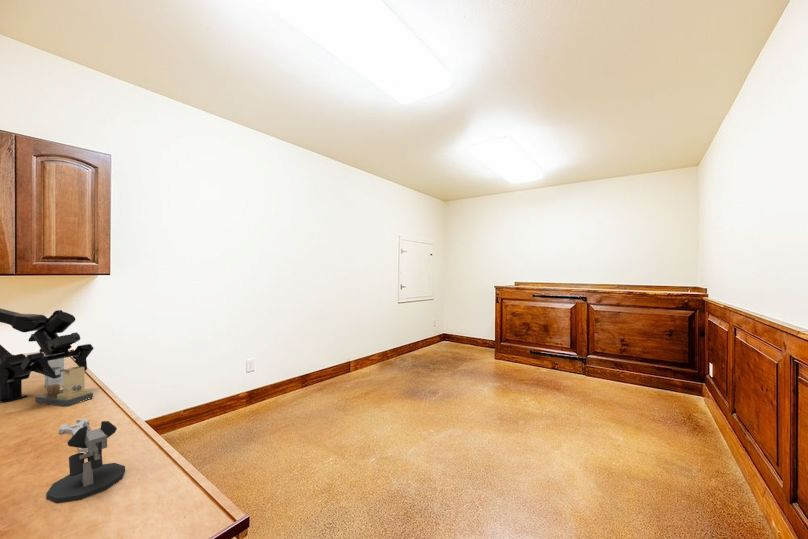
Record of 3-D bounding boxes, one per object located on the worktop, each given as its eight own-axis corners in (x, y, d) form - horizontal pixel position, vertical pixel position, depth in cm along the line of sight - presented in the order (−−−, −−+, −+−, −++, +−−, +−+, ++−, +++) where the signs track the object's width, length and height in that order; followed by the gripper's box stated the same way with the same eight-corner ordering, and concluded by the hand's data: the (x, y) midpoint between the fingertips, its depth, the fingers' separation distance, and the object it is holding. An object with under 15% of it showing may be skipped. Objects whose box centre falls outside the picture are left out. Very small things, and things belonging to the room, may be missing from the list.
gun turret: (112, 451, 87) (112, 401, 87) (132, 481, 74) (132, 422, 74) (40, 474, 77) (40, 418, 77) (49, 514, 64) (49, 446, 65)
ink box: (44, 385, 140) (44, 357, 140) (61, 382, 144) (60, 354, 144) (47, 390, 134) (47, 360, 135) (64, 386, 138) (64, 357, 139)
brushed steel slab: (35, 402, 121) (35, 388, 121) (63, 394, 129) (63, 381, 129) (66, 406, 117) (66, 392, 117) (93, 398, 125) (92, 384, 125)
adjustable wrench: (94, 452, 88) (94, 445, 88) (58, 462, 83) (58, 455, 83) (88, 422, 105) (88, 416, 105) (59, 429, 101) (59, 423, 101)
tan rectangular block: (57, 399, 119) (57, 370, 119) (80, 392, 126) (80, 365, 126) (67, 400, 118) (66, 371, 118) (90, 393, 124) (90, 366, 124)
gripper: (26, 331, 115) (48, 365, 112) (89, 323, 133) (110, 352, 130) (11, 353, 117) (32, 388, 114) (76, 342, 135) (96, 371, 132)
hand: (71, 373), depth 122 cm, fingers open, 9 cm apart
